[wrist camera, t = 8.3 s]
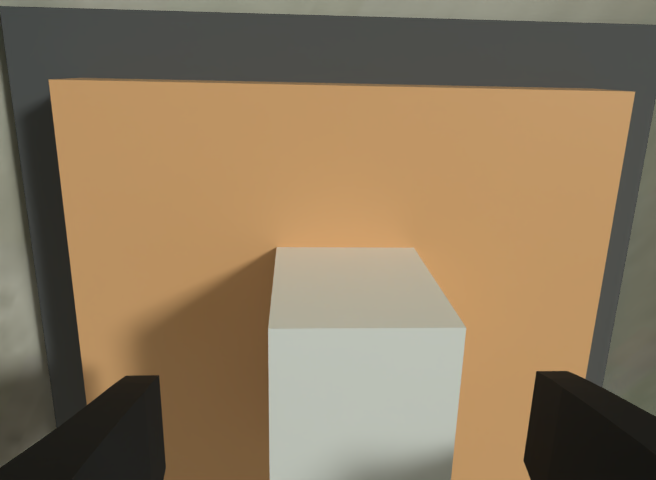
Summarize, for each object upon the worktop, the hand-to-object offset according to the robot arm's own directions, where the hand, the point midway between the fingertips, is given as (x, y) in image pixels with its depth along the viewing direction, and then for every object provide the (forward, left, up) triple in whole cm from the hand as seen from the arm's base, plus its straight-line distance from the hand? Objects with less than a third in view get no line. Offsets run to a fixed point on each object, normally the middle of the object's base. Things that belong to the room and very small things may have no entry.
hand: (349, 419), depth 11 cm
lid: (0, 0, -3) cm, 3 cm away
